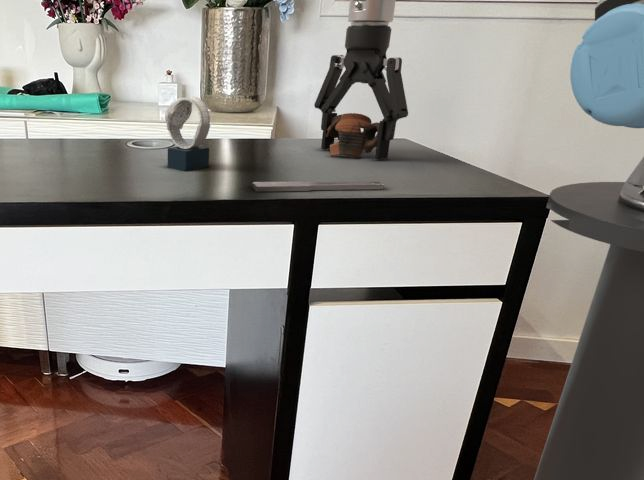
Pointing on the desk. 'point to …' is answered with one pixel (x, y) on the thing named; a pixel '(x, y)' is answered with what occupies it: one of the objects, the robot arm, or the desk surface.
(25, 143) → the desk surface
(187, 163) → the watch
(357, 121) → the pottery mug
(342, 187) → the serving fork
